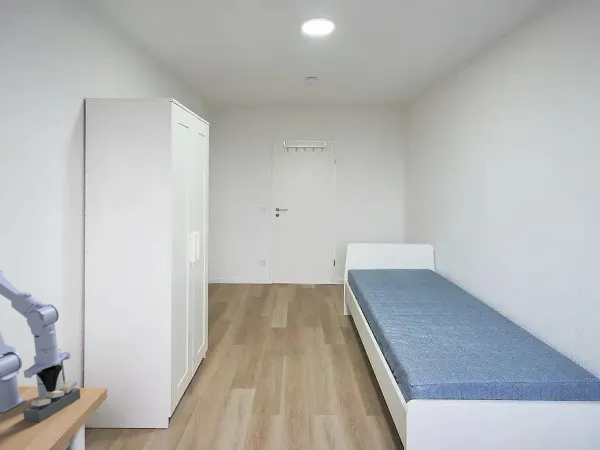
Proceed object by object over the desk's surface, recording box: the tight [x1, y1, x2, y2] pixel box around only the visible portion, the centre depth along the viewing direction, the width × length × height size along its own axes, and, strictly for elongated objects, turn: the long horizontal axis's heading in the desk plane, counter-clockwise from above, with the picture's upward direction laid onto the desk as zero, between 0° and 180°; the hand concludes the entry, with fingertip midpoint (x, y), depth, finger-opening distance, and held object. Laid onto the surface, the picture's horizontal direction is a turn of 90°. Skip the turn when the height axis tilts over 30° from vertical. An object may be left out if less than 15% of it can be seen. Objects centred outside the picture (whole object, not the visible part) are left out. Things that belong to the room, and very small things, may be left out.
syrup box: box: [33, 349, 66, 399], centre depth 146 cm, size 6×6×14 cm
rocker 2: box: [46, 390, 64, 398], centre depth 136 cm, size 3×4×1 cm
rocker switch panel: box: [22, 387, 81, 423], centre depth 137 cm, size 6×15×4 cm, turn 161°
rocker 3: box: [60, 380, 78, 393], centre depth 141 cm, size 3×4×1 cm
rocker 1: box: [30, 398, 51, 406], centre depth 132 cm, size 3×4×1 cm
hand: (51, 390), depth 135 cm, fingers closed
